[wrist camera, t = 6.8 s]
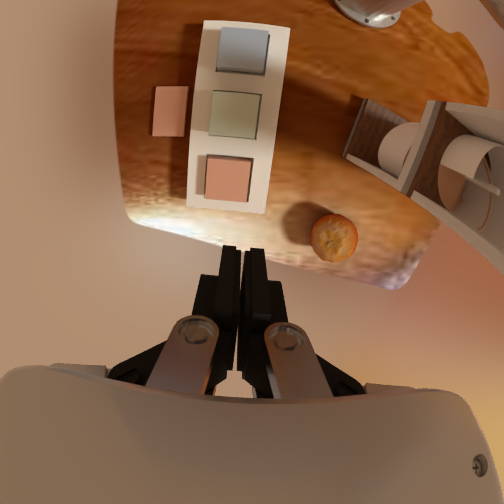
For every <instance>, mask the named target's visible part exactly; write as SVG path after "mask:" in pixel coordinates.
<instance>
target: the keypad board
mask: <svg viewBox="0 0 504 504" xmlns="http://www.w3.org/2000/svg"><path fill="white" fill-rule="evenodd" d="M222 27H234V28H247V29H257V30H265V31H269V33H268V41H267V48H266V55H265V62H264V70H263V73H262V74H260V73H251V72H241V71H228V70H218V68H217V67H216V64H217V57H218V50H219V43H220V37H221V30H222ZM289 34H290V28H287V27H280V26H274V25H266V24H258V23H248V22H235V21H206V20H204V25H203V31H202V37H201V44H200V50H199V57H198V65H197V72H196V81H195V89H194V98H193V108H192V119H191V131H190V144H189V159H188V178H187V203H186V207H197V208H209V209H221V210H231V211H242V212H251V213H261V214H264V213H265V206H266V199H267V192H268V185H269V178H270V171H271V164H272V157H273V150H274V143H275V136H276V129H277V122H278V115H279V108H280V101H281V93H282V86H283V79H284V71H285V64H286V57H287V49H288V42H289ZM213 91H219V92H233V93H244V94H253V95H260V99H259V107H258V115H257V123H256V130H255V138H254V139H250V138H241V137H230V136H218V135H209V125H210V115H211V105H212V96H213ZM210 155H219V156H231V157H241V158H251V167H250V175H249V184H248V192H247V200H246V203H244V202H234V201H223V200H212V199H205V190H206V175H207V162H208V158H209V156H210Z"/></svg>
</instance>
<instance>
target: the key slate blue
mask: <svg viewBox="0 0 504 504" xmlns="http://www.w3.org/2000/svg"><path fill="white" fill-rule="evenodd" d="M268 33H269V31H265V30H257V29H247V28H234V27H222V30H221V37H220V43H219V50H218V57H217V64H216V67H217V68H218V70H228V71H241V72H251V73H260V74H262V73H263V70H264V62H265V55H266V48H267V41H268Z"/></svg>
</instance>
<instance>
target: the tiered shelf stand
mask: <svg viewBox="0 0 504 504" xmlns="http://www.w3.org/2000/svg"><path fill="white" fill-rule="evenodd" d="M342 157H344V158H346V159H347V160H349V161H351V162H353V163H354V164H356V165H358V166H360V167H361V168H363V169H365V170H366V171H368V172H370V173H371V174H373V175H375V176H376V177H378V178H380V179H381V180H383V181H384V182H386V183H388V184H389V185H391V186H392V187H394V188H395V189H397V190H398V191H400V192H401V193H403V194H404V195H406V196H407V197H409V198H410V199H412V200H413V201H415V202H416V203H418V204H419V205H420V206H422V207H423V208H425V209H426V210H427V211H429V212H430V213H431V214H433V215H434V216H435V217H437V218H438V219H439V220H441V221H442V222H443V223H445V224H446V225H447V226H449V227H450V228H451V229H452V230H454V231H455V232H456V233H457V234H458V235H460V236H461V237H462V238H463V239H465V240H466V241H467V242H468V243H469V244H471V245H472V246H473V247H474V248H475V249H476V250H477V251H479V252H480V253H481V254H482V255H483V256H484V257H485V258H487V260H489V261H490V262H491V263H492V264H493V265H494V266H495V267H496V268H497V269H498V270H499V271H500V272H501V273H502V274H503V275H504V111H501V110H496V109H492V108H486V107H481V106H475V105H468V104H461V103H453V102H443V101H432V100H428V102H427V105H426V108H425V111H424V114H423V116H422V119H421V122H420V123H417V122H408V121H406V120H405V119H403V118H402V117H400V116H398V115H397V114H395V113H393V112H392V111H390V110H388V109H386V108H385V107H383V106H381V105H379V104H378V103H376V102H374V101H372V100H370V99H363V102H362V104H361V107H360V110H359V112H358V115H357V118H356V120H355V123H354V126H353V128H352V131H351V133H350V136H349V139H348V141H347V144H346V146H345V149H344V151H343V154H342Z"/></svg>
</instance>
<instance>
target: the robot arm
mask: <svg viewBox="0 0 504 504" xmlns="http://www.w3.org/2000/svg"><path fill="white" fill-rule="evenodd" d="M333 1H334V3H335V4H336V6H337V7H338V8H339V9H340V10H341V11H342V12H343V13H344V14H345V15H346V16H347V17H349V18H350V19H352V20H353V21H355V22H357V23H359V24H361V25H364V26H366V27H371V28H386V27H388V26H391V25H393V24H394V23H396V22H397V20H398V19H399V17H400V13H401V10H403V9H405V8H407V7H410V6H412V5H414V4H416V3H419V2H421V1H423V0H339V1H338V0H333ZM479 1H480V2H481V3H482V4H483V5H484V7H485V8H486V9H487V11H488V12H489V13H490V15H491V16H492V17H493V18H494V20H495V21H496V22H497V23H498V24H499V26H500V27H502V29H503V30H504V0H479ZM240 269H241V250H236V246H227V245H223V249H222V256H221V262H220V269H219V276H214V275H204V274H201V276H200V280H199V285H198V289H197V293H196V298H195V302H194V307H193V311H192V315H191V316H187V317H184V318H182V319H180V320H179V321H177V323H176V324H175V325H174V327H173V329H172V331H171V333H170V335H169V337H168V340H166V341H164V342H162V343H161V344H158V345H156V346H154V347H152V348H150V349H148V350H146V351H144V352H142V353H140V354H138V355H136V356H134V357H132V358H130V359H128V360H126V361H123V362H121V363H119V364H118V365H116V366H114V367H113V368H112V369H107V368H106V366H101V365H79V364H64V363H55V364H52V365H50V366H43V365H31V366H22V367H17V368H14V369H12V370H10V371H8V372H7V373H6V374H5V375H4V376H3V377H2V378H1V379H0V504H504V501H503V496H502V491H501V486H500V482H499V478H498V475H497V471H496V468H495V464H494V461H493V458H492V455H491V452H490V449H489V446H488V443H487V441H486V438H485V436H484V433H483V431H482V429H481V426H480V424H479V422H478V420H477V418H476V417H475V415H474V413H473V411H472V409H471V408H470V406H469V405H468V404H467V402H466V401H465V400H464V399H463V398H462V397H460V396H459V395H457V394H455V393H452V392H449V391H444V390H439V389H427V388H422V389H414V388H411V387H405V386H392V385H380V384H370V383H366V384H365V386H362V385H361V384H360V383H359V382H358V381H357V380H355V379H354V378H352V377H351V376H349V375H347V374H346V373H344V372H343V371H341V370H340V369H338V368H337V367H335V366H333V365H332V364H330V363H329V362H327V361H326V360H324V359H323V358H321V357H320V356H318V355H317V354H315V352H314V350H313V347H312V345H311V342H310V340H309V338H308V336H307V334H306V333H305V331H304V330H303V329H302V328H300V327H299V326H297V325H295V324H292V323H288V318H287V312H286V307H285V301H284V295H283V290H282V284H281V282H280V281H270V280H268V278H267V270H266V262H265V253H264V249H259V248H250V251H245V255H244V264H243V272H242V281H241V289H240ZM237 328H238V342H237V344H238V345H237V371H242V379H245V380H246V381H247V382H248V383H249V384H250V385H252V394H253V398H239V397H224V396H214V395H215V391H216V385H217V384H219V383H220V382H221V381H223V380H225V379H226V377H227V370H232V369H233V361H234V353H235V345H236V336H237Z"/></svg>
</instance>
